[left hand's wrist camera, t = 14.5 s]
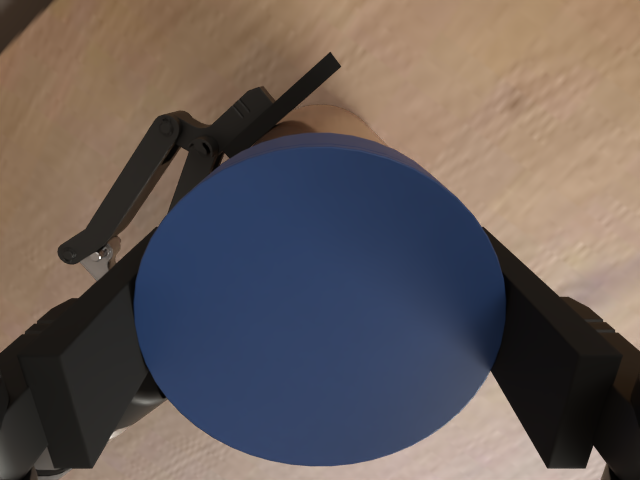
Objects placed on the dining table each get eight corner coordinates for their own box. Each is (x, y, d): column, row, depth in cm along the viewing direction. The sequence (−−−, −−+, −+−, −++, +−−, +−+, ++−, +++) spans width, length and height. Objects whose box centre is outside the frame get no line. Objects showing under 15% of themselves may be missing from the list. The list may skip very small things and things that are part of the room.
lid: (152, 121, 10) (108, 133, 8) (504, 142, 11) (551, 158, 8) (177, 400, 14) (151, 460, 12) (445, 412, 14) (467, 473, 12)
